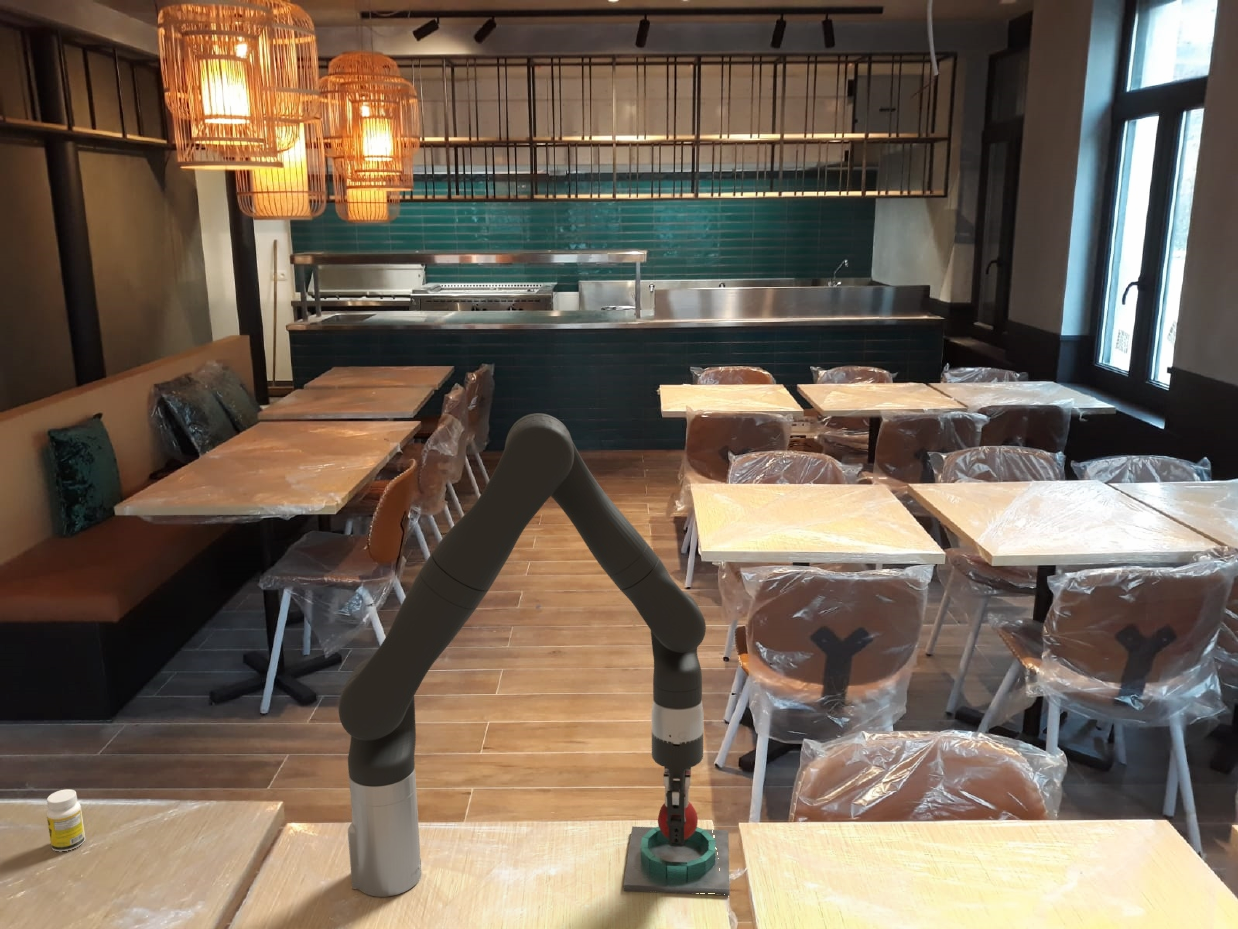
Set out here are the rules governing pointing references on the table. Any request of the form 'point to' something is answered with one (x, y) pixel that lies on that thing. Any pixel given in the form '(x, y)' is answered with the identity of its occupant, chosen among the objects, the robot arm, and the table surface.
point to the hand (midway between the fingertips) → (677, 832)
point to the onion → (688, 828)
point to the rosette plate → (678, 863)
